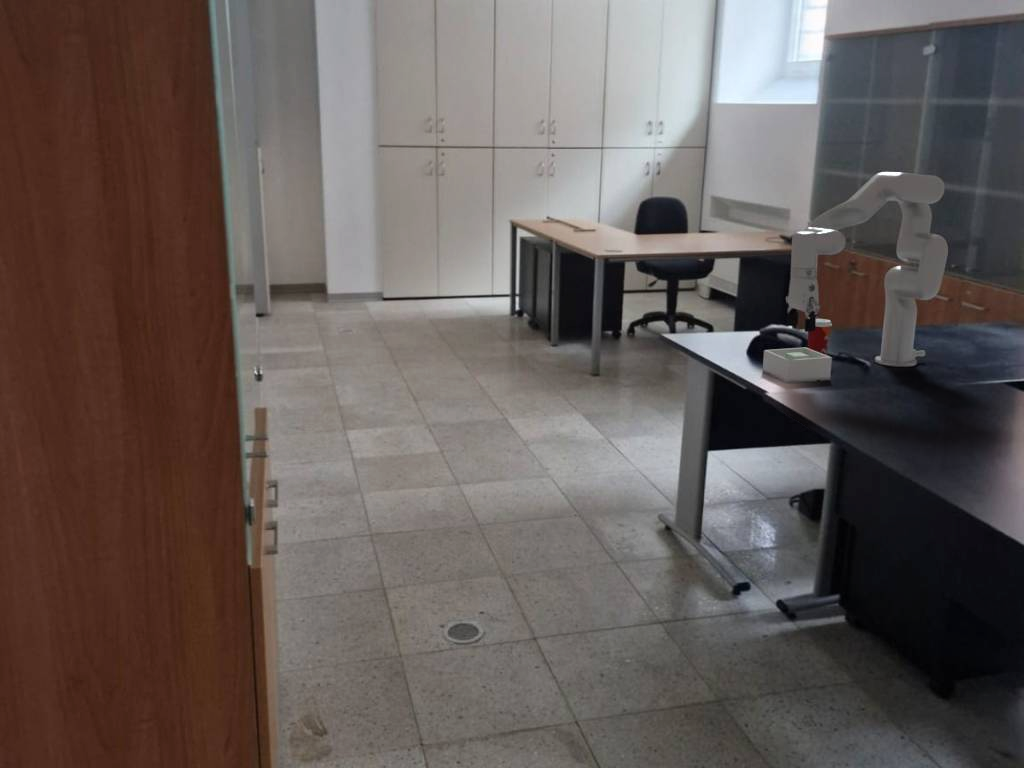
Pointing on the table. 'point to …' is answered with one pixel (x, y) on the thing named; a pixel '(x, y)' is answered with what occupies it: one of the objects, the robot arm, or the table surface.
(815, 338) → the paper cup
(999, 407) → the table surface
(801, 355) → the green block
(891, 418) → the table surface
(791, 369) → the bin
